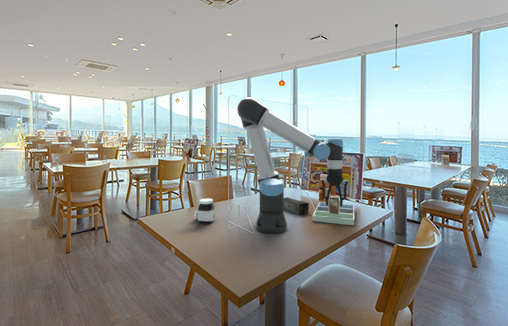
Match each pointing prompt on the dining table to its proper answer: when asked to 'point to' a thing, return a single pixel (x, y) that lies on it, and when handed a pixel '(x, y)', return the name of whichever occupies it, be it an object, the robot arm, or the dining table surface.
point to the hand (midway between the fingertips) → (334, 211)
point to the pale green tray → (333, 218)
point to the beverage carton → (296, 206)
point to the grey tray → (340, 206)
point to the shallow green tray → (345, 211)
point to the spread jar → (205, 211)
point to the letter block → (334, 204)
